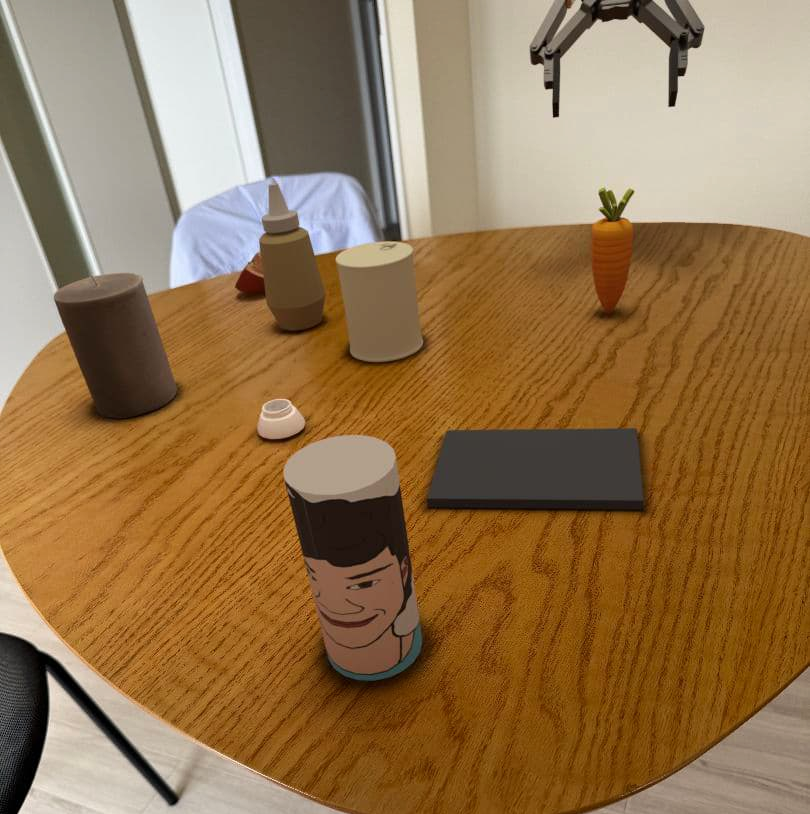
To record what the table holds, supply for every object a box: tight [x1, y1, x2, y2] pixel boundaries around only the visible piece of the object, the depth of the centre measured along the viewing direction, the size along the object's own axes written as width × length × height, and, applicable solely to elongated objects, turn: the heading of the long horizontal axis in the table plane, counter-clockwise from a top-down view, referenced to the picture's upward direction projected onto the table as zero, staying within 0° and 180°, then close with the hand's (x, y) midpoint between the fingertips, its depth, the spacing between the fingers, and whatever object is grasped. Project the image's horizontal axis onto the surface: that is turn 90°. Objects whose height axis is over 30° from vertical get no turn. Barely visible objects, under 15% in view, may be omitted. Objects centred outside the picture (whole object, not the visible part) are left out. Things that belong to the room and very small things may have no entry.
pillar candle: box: [53, 272, 178, 419], centre depth 89 cm, size 10×10×15 cm
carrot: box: [590, 187, 635, 315], centre depth 93 cm, size 5×5×15 cm
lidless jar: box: [256, 398, 306, 440], centre depth 82 cm, size 5×3×5 cm
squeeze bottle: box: [258, 182, 326, 331], centre depth 102 cm, size 8×8×18 cm
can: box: [335, 240, 424, 363], centre depth 94 cm, size 9×9×12 cm
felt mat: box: [426, 427, 645, 511], centre depth 70 cm, size 18×12×1 cm, turn 79°
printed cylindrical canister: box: [282, 434, 423, 682], centre depth 51 cm, size 7×7×15 cm
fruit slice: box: [234, 251, 265, 295], centre depth 119 cm, size 8×7×5 cm
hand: (613, 105), depth 93 cm, fingers open, 13 cm apart
